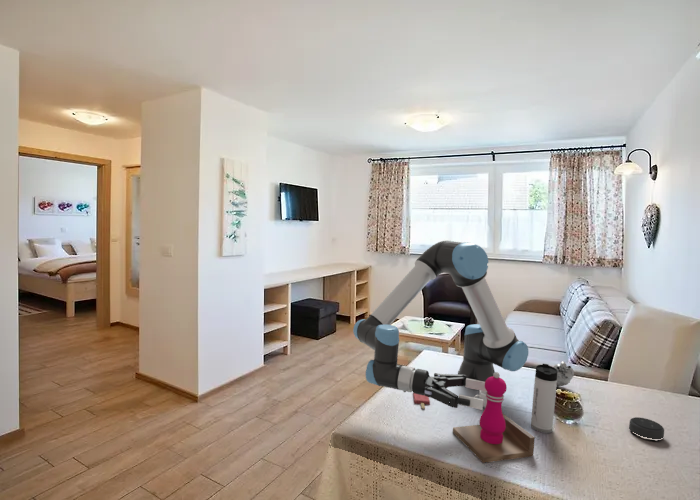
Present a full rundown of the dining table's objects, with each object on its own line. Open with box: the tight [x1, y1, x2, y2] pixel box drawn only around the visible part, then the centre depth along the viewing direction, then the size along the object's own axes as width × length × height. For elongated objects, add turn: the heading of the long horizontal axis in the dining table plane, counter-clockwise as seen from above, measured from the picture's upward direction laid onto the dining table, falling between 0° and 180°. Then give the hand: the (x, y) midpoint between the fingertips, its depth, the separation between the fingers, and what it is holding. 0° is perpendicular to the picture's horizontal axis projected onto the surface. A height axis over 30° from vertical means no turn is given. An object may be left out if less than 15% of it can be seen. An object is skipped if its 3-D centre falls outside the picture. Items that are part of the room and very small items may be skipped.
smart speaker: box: [628, 416, 665, 439], centre depth 129 cm, size 9×9×4 cm
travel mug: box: [530, 363, 558, 434], centre depth 129 cm, size 6×7×20 cm
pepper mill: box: [479, 371, 507, 444], centre depth 118 cm, size 7×7×20 cm
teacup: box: [473, 390, 487, 409], centre depth 142 cm, size 10×8×5 cm
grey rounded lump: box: [553, 361, 575, 387], centre depth 163 cm, size 10×10×12 cm
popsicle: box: [412, 392, 431, 410], centre depth 146 cm, size 5×2×15 cm
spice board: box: [452, 412, 536, 464], centre depth 119 cm, size 16×16×6 cm
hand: (485, 395), depth 119 cm, fingers open, 13 cm apart
